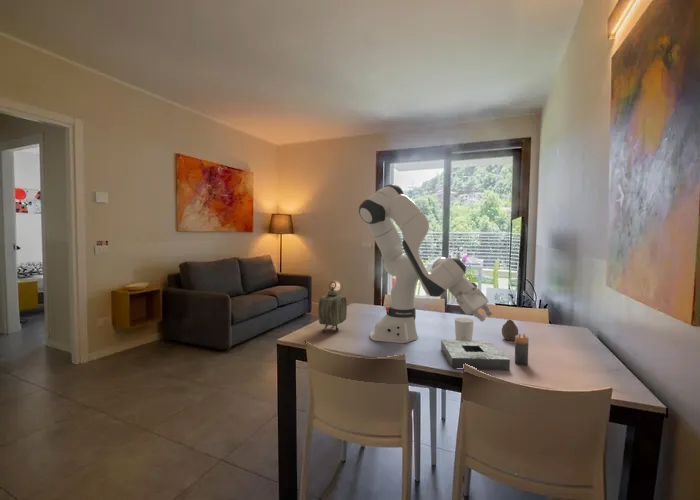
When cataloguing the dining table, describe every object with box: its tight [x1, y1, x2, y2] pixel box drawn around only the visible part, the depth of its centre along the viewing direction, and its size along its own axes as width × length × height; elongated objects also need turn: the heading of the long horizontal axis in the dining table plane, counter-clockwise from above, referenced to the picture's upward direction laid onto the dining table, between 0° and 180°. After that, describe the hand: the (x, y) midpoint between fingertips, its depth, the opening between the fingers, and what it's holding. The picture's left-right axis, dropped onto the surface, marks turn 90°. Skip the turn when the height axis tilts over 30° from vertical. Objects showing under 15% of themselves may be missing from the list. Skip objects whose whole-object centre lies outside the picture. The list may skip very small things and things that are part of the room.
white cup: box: [454, 317, 474, 340], centre depth 145 cm, size 8×8×10 cm
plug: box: [514, 333, 530, 367], centre depth 121 cm, size 4×4×11 cm
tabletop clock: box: [317, 280, 348, 333], centre depth 162 cm, size 14×9×25 cm, turn 155°
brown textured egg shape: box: [501, 319, 519, 342], centre depth 148 cm, size 7×7×9 cm
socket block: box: [440, 339, 511, 372], centre depth 125 cm, size 20×20×4 cm
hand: (487, 317), depth 127 cm, fingers open, 8 cm apart
